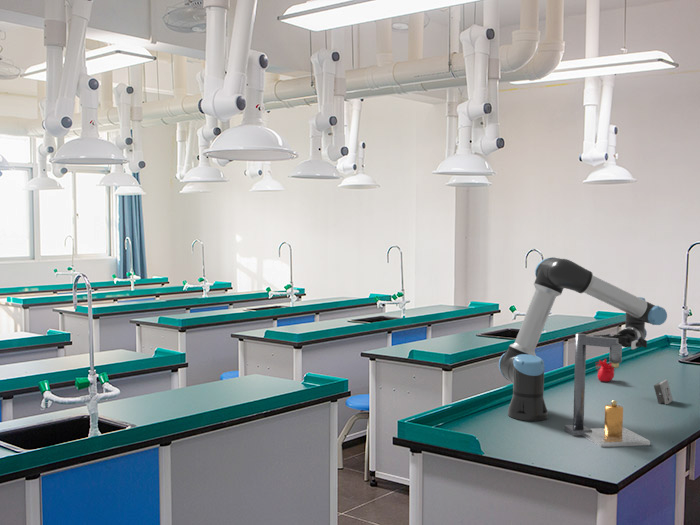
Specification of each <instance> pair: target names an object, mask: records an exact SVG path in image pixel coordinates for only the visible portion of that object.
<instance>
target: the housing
mask: <svg viewBox="0 0 700 525" xmlns="http://www.w3.org/2000/svg"><path fill="white" fill-rule="evenodd" d="M623 423H624V406H621V405H618V402H617V400H611V404H605V406H604V424H603V425H604V427H603V428H604V434H605V435H606V436H609V437H622V432H623V428H624V426H623Z"/></svg>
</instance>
